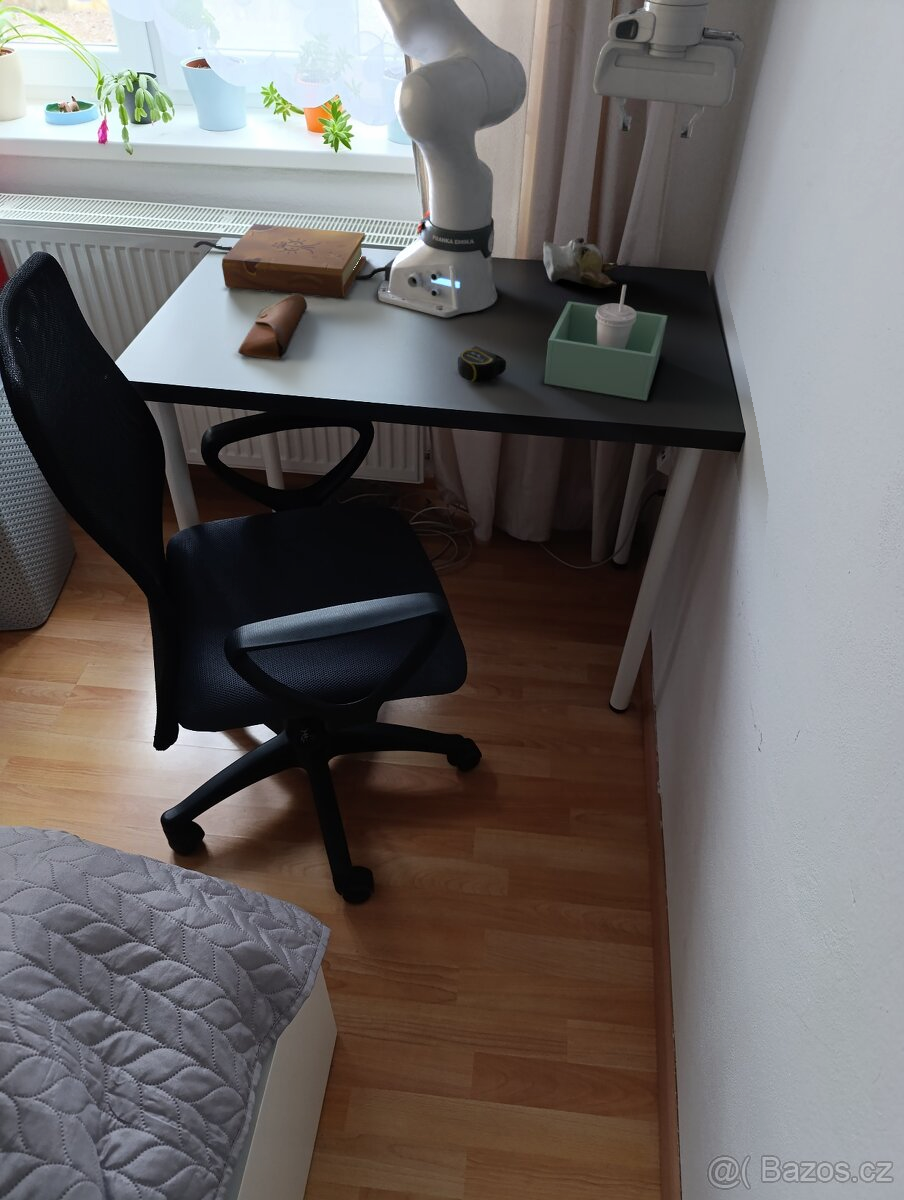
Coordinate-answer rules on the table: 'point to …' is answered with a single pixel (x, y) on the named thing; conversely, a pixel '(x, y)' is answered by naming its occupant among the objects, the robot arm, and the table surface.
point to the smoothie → (615, 323)
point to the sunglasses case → (274, 328)
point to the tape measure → (480, 365)
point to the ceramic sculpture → (577, 263)
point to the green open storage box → (603, 354)
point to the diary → (294, 261)
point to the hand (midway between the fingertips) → (654, 133)
